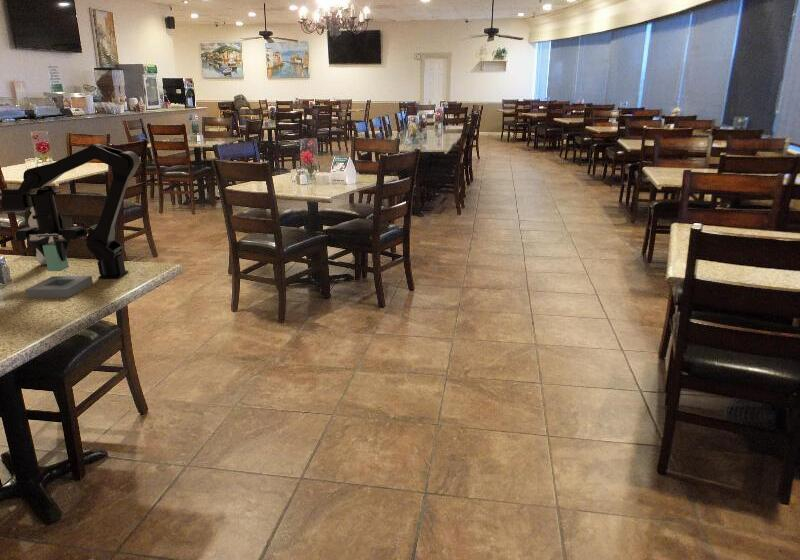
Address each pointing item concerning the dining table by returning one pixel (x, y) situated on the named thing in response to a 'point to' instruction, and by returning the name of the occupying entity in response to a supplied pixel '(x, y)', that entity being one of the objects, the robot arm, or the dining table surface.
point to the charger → (54, 258)
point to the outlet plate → (59, 287)
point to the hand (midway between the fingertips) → (56, 261)
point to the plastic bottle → (33, 223)
